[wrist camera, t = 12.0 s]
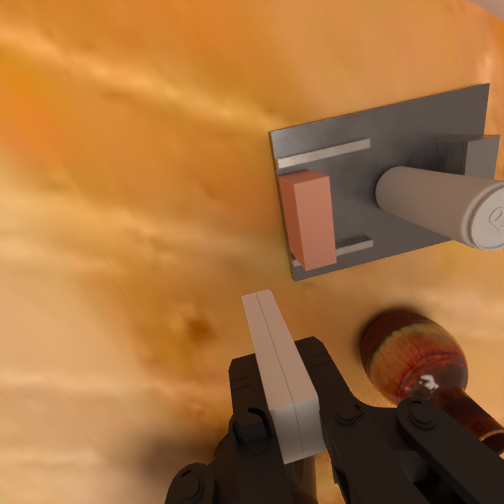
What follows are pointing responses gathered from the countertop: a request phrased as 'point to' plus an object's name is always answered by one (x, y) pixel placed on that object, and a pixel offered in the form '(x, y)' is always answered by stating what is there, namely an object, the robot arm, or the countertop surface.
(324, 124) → the grey vise base
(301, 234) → the block
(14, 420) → the countertop surface
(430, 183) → the beverage can
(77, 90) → the countertop surface
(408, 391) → the vase
